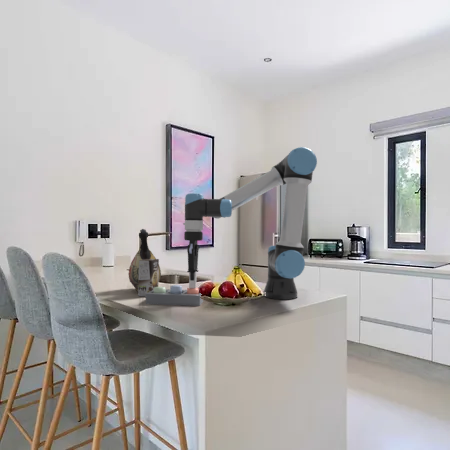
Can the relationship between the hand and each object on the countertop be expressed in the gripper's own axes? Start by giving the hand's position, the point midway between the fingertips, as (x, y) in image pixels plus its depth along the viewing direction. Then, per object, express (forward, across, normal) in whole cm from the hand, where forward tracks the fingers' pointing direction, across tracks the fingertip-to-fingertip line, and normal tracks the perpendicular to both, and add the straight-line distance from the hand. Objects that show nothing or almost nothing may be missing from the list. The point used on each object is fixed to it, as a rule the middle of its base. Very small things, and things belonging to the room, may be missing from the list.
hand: (192, 287), depth 146 cm
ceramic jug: (+6, -23, -28) cm, 37 cm away
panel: (+6, 0, -7) cm, 9 cm away
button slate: (+4, 0, -7) cm, 8 cm away
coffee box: (+6, -13, -23) cm, 27 cm away
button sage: (+4, 0, -14) cm, 15 cm away
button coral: (+4, 0, 0) cm, 4 cm away
